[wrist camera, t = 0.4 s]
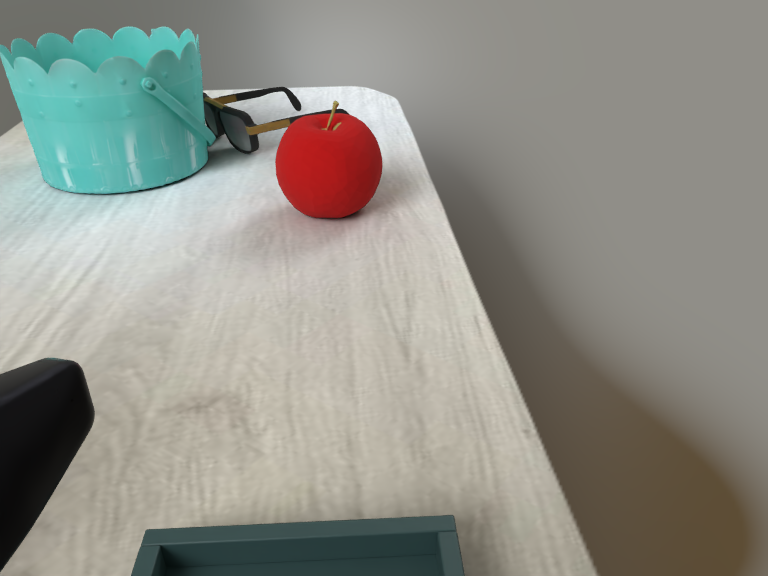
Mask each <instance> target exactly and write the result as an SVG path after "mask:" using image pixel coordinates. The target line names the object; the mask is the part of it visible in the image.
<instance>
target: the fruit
mask: <svg viewBox="0 0 768 576" xmlns="http://www.w3.org/2000/svg"><path fill="white" fill-rule="evenodd" d="M338 105H339V103H338V102H337V101H334V102H333V109H332V112H331V114H317V115H308V116H303V117H301V118H299V119H297V120H296V121H294V122H293V123H292V124H291V125H290V126H289V127H288V129H287V130H286V132H285V133H284V135H283V137H282V139H281V141H280V144H279V147H278V150H277V154H276V162H275V163H276V175H277V179H278V183H279V185H280V187H281V189H282V191H283V193H284V195H285V196H286V198H287V199H288V200H289V202H290V203H291V204H292V205H293V206H294V207H295V208H296V209H297V210H299V211H300V212H302V213H303V214H304V215H308V216H311V217H315V218H342V217H345V216H347V215H350V214H353V213H355V212H357V211H358V210H360V209H361V208H363V207H364V206H365V205H366V204H367V203H368V202H369V201H370V199H371V198H372V197H373V195H374V193H375V191H376V189H377V187H378V184H379V181H380V178H381V174H382V156H381V152H380V148H379V145H378V142H377V140H376V138H375V136H374V135H373V133H372V132H371V130H370V129H369V128H368V127H367V126H366V125H365V123H363V122H362V121H360V120H359V119H357V118H356V117H354V116H351V115H349V114H343V113H335V110H336V108H337V107H338Z"/></svg>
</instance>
